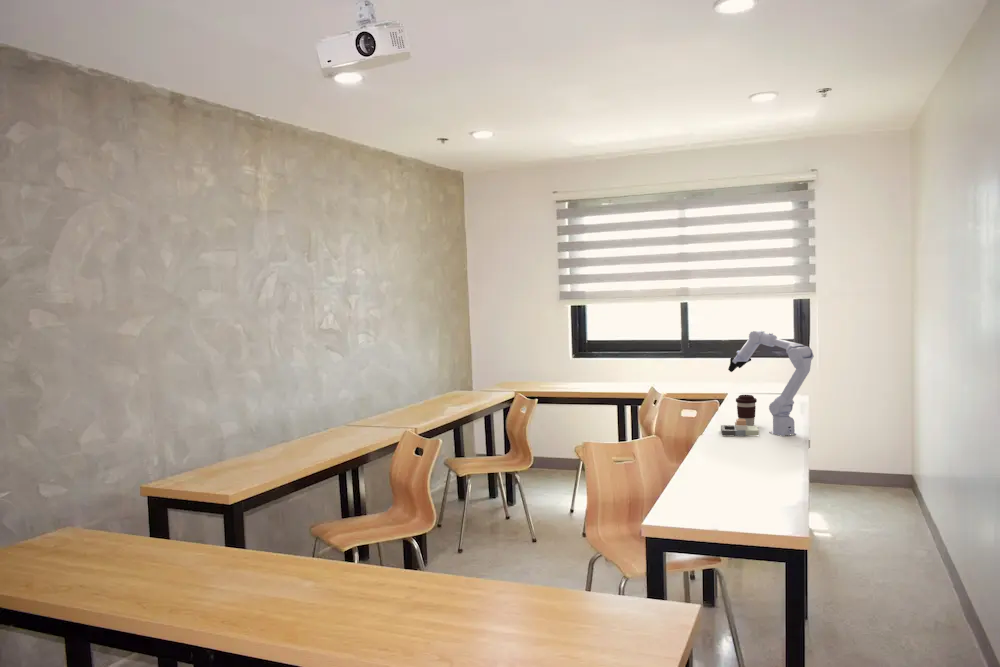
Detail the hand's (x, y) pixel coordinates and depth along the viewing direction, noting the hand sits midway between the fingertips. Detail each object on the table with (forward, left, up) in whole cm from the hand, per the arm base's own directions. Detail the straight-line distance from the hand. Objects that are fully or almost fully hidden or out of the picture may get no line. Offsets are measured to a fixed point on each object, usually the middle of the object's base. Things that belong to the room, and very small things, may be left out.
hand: (734, 368), depth 370 cm
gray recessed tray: (-15, +14, -29) cm, 35 cm away
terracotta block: (-17, +11, -26) cm, 33 cm away
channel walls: (-17, +11, -26) cm, 33 cm away
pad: (-20, +7, -29) cm, 36 cm away
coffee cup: (-4, -4, -29) cm, 29 cm away
